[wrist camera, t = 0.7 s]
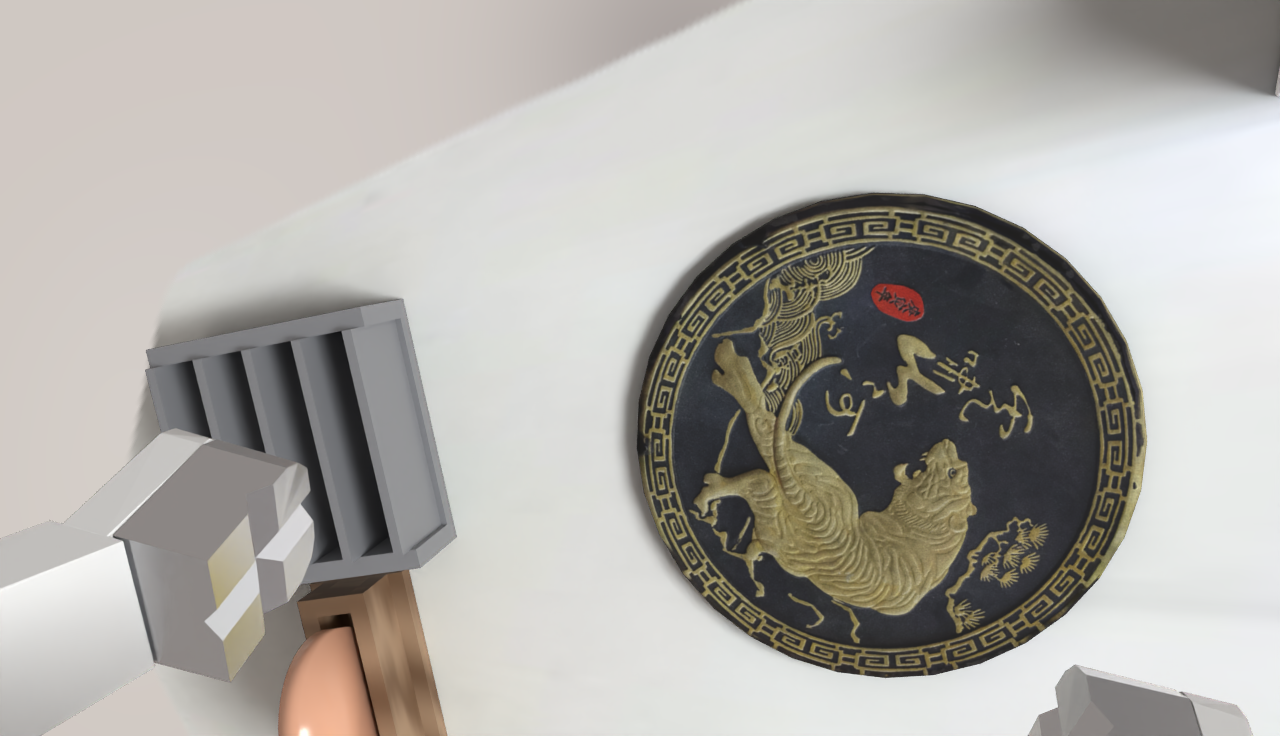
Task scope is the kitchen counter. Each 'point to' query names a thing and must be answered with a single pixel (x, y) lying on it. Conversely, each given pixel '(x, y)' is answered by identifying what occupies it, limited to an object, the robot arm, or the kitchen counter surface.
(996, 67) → the kitchen counter surface
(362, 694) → the terracotta plate
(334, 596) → the walnut plate stand
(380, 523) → the charcoal dish rack
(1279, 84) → the milk carton
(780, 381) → the decorative plate
